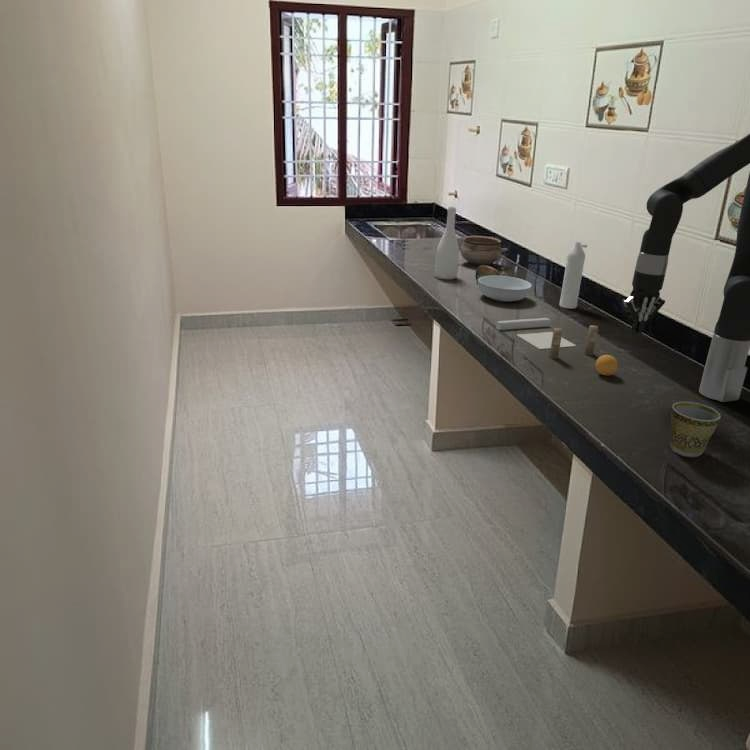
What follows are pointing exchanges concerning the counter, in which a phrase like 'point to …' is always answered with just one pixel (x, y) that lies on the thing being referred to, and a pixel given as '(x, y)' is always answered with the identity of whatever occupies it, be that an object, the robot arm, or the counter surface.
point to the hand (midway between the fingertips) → (636, 333)
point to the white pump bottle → (572, 276)
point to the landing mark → (543, 340)
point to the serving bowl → (504, 288)
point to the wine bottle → (448, 250)
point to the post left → (555, 343)
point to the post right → (591, 340)
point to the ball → (606, 365)
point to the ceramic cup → (692, 427)
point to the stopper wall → (522, 323)
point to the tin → (485, 271)
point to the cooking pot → (481, 250)
